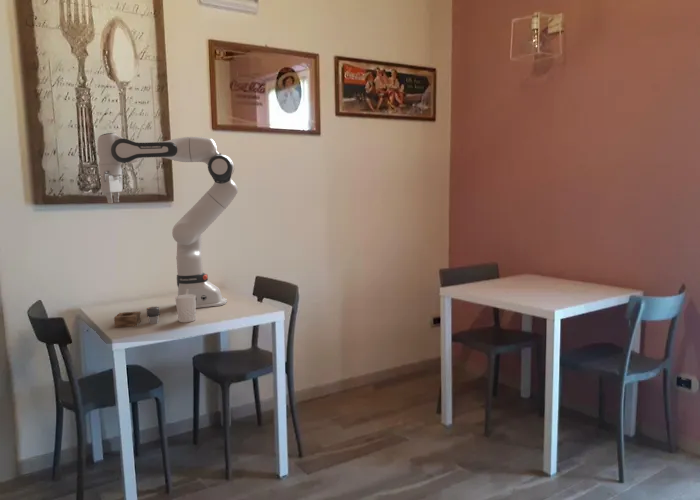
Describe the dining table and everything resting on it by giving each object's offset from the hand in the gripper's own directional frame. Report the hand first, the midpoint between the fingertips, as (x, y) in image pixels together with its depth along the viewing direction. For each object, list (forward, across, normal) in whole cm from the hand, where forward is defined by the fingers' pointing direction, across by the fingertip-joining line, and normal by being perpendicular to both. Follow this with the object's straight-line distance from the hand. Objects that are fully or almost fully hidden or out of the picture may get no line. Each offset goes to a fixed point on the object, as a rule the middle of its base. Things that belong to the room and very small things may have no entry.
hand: (113, 203), depth 249 cm
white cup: (+48, -30, -32) cm, 65 cm away
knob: (+48, -30, -19) cm, 59 cm away
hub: (+48, -30, -9) cm, 57 cm away
